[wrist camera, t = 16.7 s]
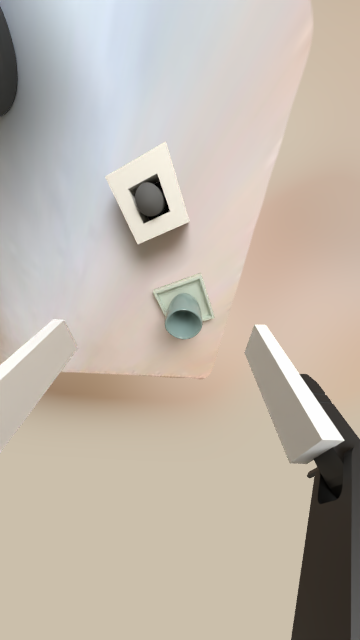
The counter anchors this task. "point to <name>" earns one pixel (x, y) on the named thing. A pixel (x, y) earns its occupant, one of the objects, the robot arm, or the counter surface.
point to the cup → (183, 316)
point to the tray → (187, 285)
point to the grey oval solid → (150, 199)
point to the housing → (152, 171)
